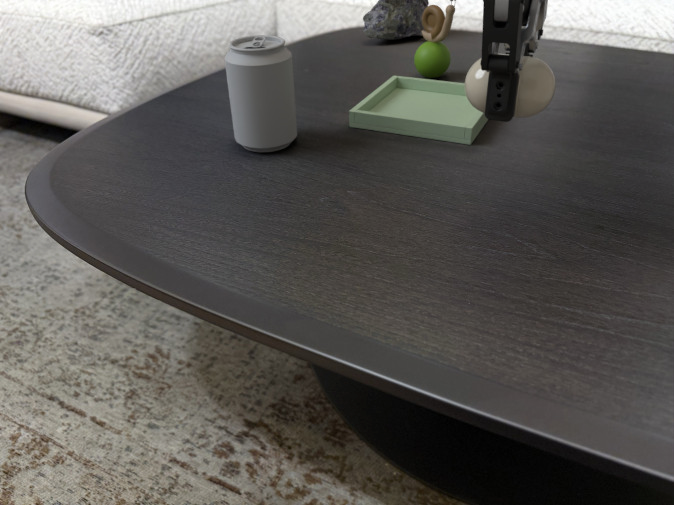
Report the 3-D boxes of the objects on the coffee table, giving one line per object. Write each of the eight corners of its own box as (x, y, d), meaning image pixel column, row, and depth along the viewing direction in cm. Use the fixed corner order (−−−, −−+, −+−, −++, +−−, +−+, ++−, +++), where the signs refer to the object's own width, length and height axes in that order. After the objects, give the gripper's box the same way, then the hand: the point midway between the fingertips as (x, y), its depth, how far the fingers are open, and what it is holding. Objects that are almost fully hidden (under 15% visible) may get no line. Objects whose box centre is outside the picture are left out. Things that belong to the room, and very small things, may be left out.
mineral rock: (363, 46, 108) (363, -14, 103) (360, 32, 117) (359, -24, 112) (435, 43, 108) (438, -17, 103) (426, 29, 117) (429, -27, 112)
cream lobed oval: (554, 109, 51) (564, 52, 48) (544, 130, 47) (555, 69, 44) (470, 99, 53) (475, 44, 51) (455, 118, 50) (459, 60, 47)
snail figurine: (435, 86, 88) (440, -1, 82) (406, 76, 93) (409, -7, 86) (461, 79, 91) (468, -6, 84) (431, 69, 95) (436, -12, 89)
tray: (500, 102, 82) (502, 87, 81) (470, 145, 70) (472, 128, 69) (393, 89, 88) (393, 75, 87) (349, 126, 76) (348, 110, 75)
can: (228, 154, 70) (213, 49, 63) (244, 129, 76) (233, 31, 70) (291, 156, 69) (283, 49, 62) (303, 131, 75) (296, 32, 69)
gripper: (582, -134, 34) (537, 147, 43) (606, -140, 45) (565, 86, 54) (452, -131, 37) (436, 133, 46) (504, -137, 47) (482, 78, 57)
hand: (506, 107), depth 50 cm, fingers closed on cream lobed oval, 4 cm apart
